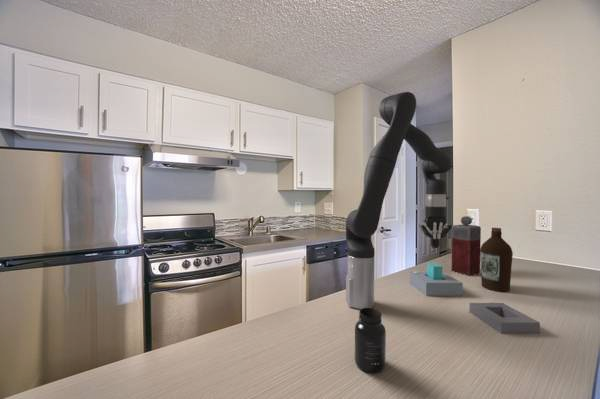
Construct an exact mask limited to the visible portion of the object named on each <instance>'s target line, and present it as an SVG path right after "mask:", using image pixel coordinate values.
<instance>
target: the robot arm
mask: <svg viewBox="0 0 600 399" xmlns="http://www.w3.org/2000/svg"><path fill="white" fill-rule="evenodd" d="M416 109H417V99H416V96H415V94H414V93H413V92H410V91H402V92H399V93H396V94H392V95H389V96H385V97H384V98H383V99H382V100H380V103H379V107H378V112H379V115H380V117H381V119H382V120H383V121H384V122H385V123H386V124H387V125H388V126H389V127H388V128H387V131H386V132H385V134H384V135H383V136H382V137H381V139H380V140H379V141H378V142H377V143H376V145H375V146H374V147H373V149H372V150H371V152H370V154H369V155H368V156H369V157H368V159H367V163H366V165H365V170H364V175H363V176H364V177H363V192H362V195H361V199H360V202H359V205H358V207H357V209H354V210H351V211H350V212H349V213H348V214H347V218H346V220H345V244H346V248H347V274H346V275H345V301H346V304H347V306H348V307H349V308H355V309H357V310H361V309H363V308H373V307H375V258H376V257H375V253H376V252H375V247H374V244H373V240H372V236H373V235H374V234H375V233H376V232H377V230H378V227H379V223H380V218H381V214H382V213H381V212H382V208H383V204H384V200H385V197H386V195H387V191H388V188H389V185H390V182H391V179H392V177H393V175H394V170H395V168H396V164H397V161H398V157H399V154H400V151H401V148H402V145H403V143H404V140H405V142H407V144H408V145H409V147H411V149H412V151H413V152H414V153H415V154H416V156H417V157H418V158H419V159H420V160H421V161H422V163H421V170H422V173H423V177H424V181H425V184H426V187H425V188H426V189H425V191H426V192H425V194H426V195H425V199H424V200H425V202H424V206H425V209H424V210H425V212H424V213H425V214H424V215H425V218H424V221H423V223H422V224H419V225H418V227H419V228H420V230H421V231H422V233H423V234H424V235H425V237H426V238H430V247H431V248H433V249H439V247H440V241H441V240H440V239H442V238H443V239H444V238H445V237H446V236H447V234H448V233H449V232H450V231H451V230H452V226H453V225H452V224H449V223H447V219H446V218H447V196H446V195H447V194H446V191H447V185H446V184H447V182H446V180H444V179H439V178H437V177H436V176H435V174H436V175H437V174H446V173H448V172H449V171H450V170H451V168H452V166H453V165H452V161H451V158H450V157H449V156H448V154H447V153H445V152H444V151H443V150H441V149H440V148H438V147H437V146H436V145H435V143H434V142H433V140H432V139H431V137H430V136H429V135H428V134H427V133H426V132H424V131H423V130H422V129H420V128H418V127H416V126H415V125H413V123H412V121H413V119H414V116H415V113H416ZM427 228H428V229H427Z"/></svg>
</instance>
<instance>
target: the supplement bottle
mask: <svg viewBox="0 0 600 399" xmlns="http://www.w3.org/2000/svg"><path fill="white" fill-rule="evenodd" d="M358 311H359V312H358V314H359V315H358V321H356V323H355V325H354V362H355V364H356V366H357V367H358V368H359V369H360V370H361V369H362V371H363V372H365V371H366V373H369V374H377V373H381V372H382V371H384V369H385V368H386V359H387V358H386V352H387V350H386V348H387V347H386V346H387V345H386V344H387V342H386V340H387V337H386V335H387V334H386V333H387V330H386V327H385V325H384V324H383V323H382V313H381V311H379V310H378V309H376V308H373V307H372V308H363V309H359V310H358Z"/></svg>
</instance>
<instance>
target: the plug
mask: <svg viewBox="0 0 600 399" xmlns="http://www.w3.org/2000/svg"><path fill="white" fill-rule="evenodd" d="M426 265H427V267H426V272H427V277H429V278H430V279H432V280H442V272H443V266H442V265H440V264H438V263H436V262H427V263H426Z"/></svg>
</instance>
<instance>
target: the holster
mask: <svg viewBox="0 0 600 399" xmlns="http://www.w3.org/2000/svg"><path fill="white" fill-rule="evenodd" d="M468 311H469V313H471V314H472V315H473V316H475V317H477V318H478V319H479V320H481V321H482V322H484V323H485V324H487V325H488V326H489V327H491V328H492V329H494V330H495V331H496V332H498V333H500V334H540V332H541V331H540V329H541V322H539V321H538V320H536V319H534V318H532V317H531V316H528V315H526V314H525V313H523V312H521V311H519V310H517V309H515V308H513V307H512V306H509V305H507V304H506V303H504V302H469V310H468Z"/></svg>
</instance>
